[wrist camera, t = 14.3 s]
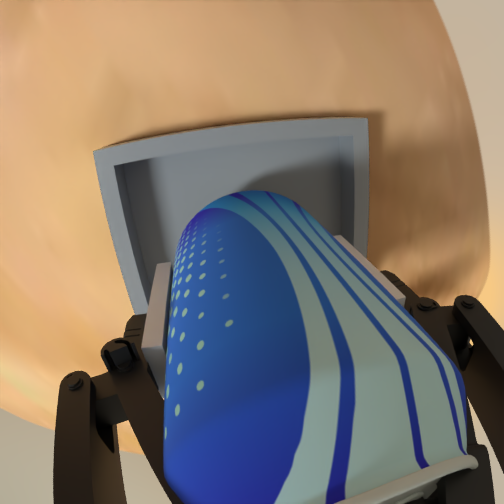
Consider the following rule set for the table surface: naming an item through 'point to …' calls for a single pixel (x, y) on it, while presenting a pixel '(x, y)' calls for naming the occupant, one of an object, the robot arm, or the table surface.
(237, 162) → the tray
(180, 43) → the table surface
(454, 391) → the beer can
